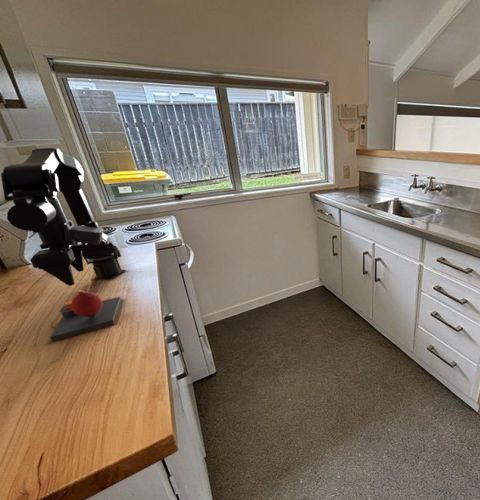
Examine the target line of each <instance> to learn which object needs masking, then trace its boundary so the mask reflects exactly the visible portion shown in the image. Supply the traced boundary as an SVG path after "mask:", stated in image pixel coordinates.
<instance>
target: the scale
mask: <svg viewBox="0 0 480 500" xmlns="http://www.w3.org/2000/svg"><path fill="white" fill-rule="evenodd" d="M122 302H123V299H122V296H116V297H113V298H109V299H105V300H102V307H101V309H100V310H99V312H98V313H97V314H96V315H95V316H93V317H85V316H80V315H77V314H75V313H74V312H73V311H72V309H68V308H67V306H66V305H64V306H62V307H61V308H60V310H59V312H60V314H61V316H62V318H61V319H60V321H59V322H58V323H57V325H56V327H55V329H54V330H53V332H52V333H51V335H50V337H49V338H50V340H51V342H52V343H53V342H55V341H60V340H63V339H67V338H70V337H74V336H78V335H81V334H85V333H88V332H92V331H96V330H99V329H104V328H106V327H109V326H113V325H115V324H116V321H117V318H118V315H119V312H120V308H121V306H122Z"/></svg>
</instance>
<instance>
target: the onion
mask: <svg viewBox="0 0 480 500" xmlns="http://www.w3.org/2000/svg"><path fill="white" fill-rule="evenodd" d="M76 293H77V294H76V295H75V296H74V298H73V299H72V300H73V301H72V303H71V308H72V311H73V312H74V313H75V314H77V315H80V316H85V317H93V316H95V315H96V314H97V313H98V312H99V310H100V309H101V307H102V301H103V300H102V298H101V297H100V296H99V295H98V294H96V293H94V292H92V291H84V290H81V289H79V290H77V291H76Z"/></svg>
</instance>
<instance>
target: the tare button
mask: <svg viewBox="0 0 480 500" xmlns="http://www.w3.org/2000/svg"><path fill="white" fill-rule="evenodd" d="M72 301H73V299H69V300H68V301H66V302H65V306H67V308H68V309H72V308H71V303H72Z"/></svg>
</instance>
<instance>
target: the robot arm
mask: <svg viewBox="0 0 480 500" xmlns="http://www.w3.org/2000/svg"><path fill="white" fill-rule="evenodd" d="M84 175H85V173H84V169H83V167H82V165H81V164H80V163H79V161H78V160H77V159H76V158H75V157H73V156H71V155H68V154H66V153H63V152H62V151H61V150H60V149H59V148H56V147H44V148H42V147H41V148H35V149H32V150H31V154H30V156H28V158H26V159H25V161H24V162H22V163H17V164H9V165H6V166H4V167H3V169H2V172H1V173H0V177H1V184H2V191H3V195H4V196H3V198H4V200H5V201H6V202H11V201H12V202H13V204H14V205H13V206H11V207H10V208H9V209H8V211H7V213H6V219H7V221H8V222H9V224H10V225H12V226H13V227H14V228H17V230H21V231H25V232H32V233H33V234H34V233H36V234H37V235H38V237H39V239H40V241H41V244H40V245H39V247H40V249H41V250H38V251H37V252H36V253H34V255H32V257H31V258H30V260H29V261H30V263H31V265H32V267H33V268H34V269H38V270H42V271H44V272H46V273H47V274H49V275H51V276H52V277H54V278H56V279H57V280H58V281H60V282H62V283H63V284H65V285H66V286H69V287H70V286H74V285H75V278H74V273H73V271H72V267H73V268H74V270H76V271H77V272H79V273H81V272H84V269H85V268H84V261H85V263H86V264H87V265H90V264H91V265H92V266H93V267H92V269H93V272H94V275H95V276H94V279H95V280H112V279H113V278H116V277H117V276H119V275H121V274H123V273H125V272H126V269H122V268H121V265H120V263H119V260H118V259H119V258H121V257H122V254H121V252H120V249H119V248H118V246H117V245H116V244H115V243H114V242H113V241H111V239H110V237H109V236H108V235H107V234H106V233H104V228H103V227H102V226H100V225H99V223H98V222H97V221H96V220H95V217H94V215H93V213H92V210H91V208H90V206H89V204H88V203H89V202H88V201H87V198H86V196H85V194H84V192H83V189H82V188H83V184H84V181H85V178H84ZM58 192H60V193H62V195H63V197H64V200H65V202H66V203H67V206H68V208H69V210H70V213H71V214H72V217H73V219H74V221H75V223H76V225H75V224H74V222H73V220H71V219H67V216H66V214H65V211H64V209H63V207H62V205H61V203H60V201H59V198H58V197H57V196H58Z"/></svg>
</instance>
